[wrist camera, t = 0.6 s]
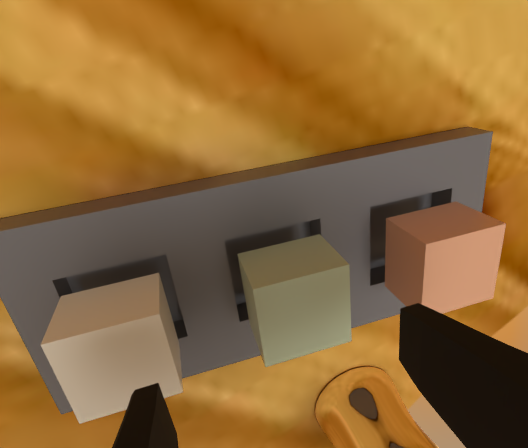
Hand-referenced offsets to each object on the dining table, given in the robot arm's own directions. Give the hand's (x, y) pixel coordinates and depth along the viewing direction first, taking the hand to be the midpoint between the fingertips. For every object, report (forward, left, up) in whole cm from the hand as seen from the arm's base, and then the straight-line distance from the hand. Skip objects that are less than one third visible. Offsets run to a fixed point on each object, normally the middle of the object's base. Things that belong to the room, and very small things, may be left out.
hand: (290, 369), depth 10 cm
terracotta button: (-2, -9, -7) cm, 12 cm away
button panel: (-2, -2, -9) cm, 10 cm away
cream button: (-2, +6, -7) cm, 9 cm away
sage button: (-2, -2, -7) cm, 7 cm away
